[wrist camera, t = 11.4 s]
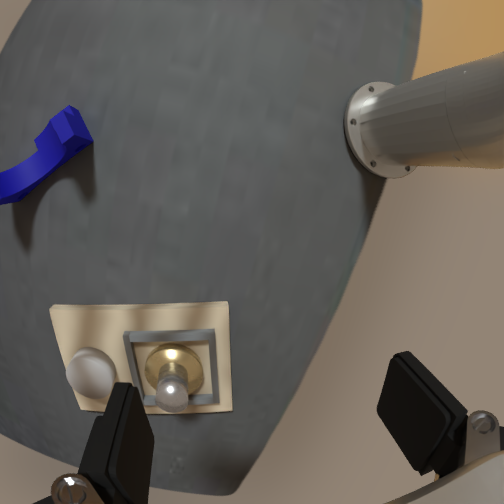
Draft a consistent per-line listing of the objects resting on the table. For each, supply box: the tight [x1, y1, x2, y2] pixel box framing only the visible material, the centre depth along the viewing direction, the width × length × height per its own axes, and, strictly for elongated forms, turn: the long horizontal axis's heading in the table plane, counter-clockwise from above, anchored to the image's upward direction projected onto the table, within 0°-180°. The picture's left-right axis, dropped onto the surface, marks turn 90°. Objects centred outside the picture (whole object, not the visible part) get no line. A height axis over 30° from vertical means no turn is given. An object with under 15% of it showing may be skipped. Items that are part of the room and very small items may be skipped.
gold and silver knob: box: [144, 343, 203, 413], centre depth 31 cm, size 7×7×6 cm
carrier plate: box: [49, 301, 232, 414], centre depth 33 cm, size 22×16×4 cm
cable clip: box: [0, 105, 94, 205], centre depth 25 cm, size 12×4×6 cm, turn 119°
